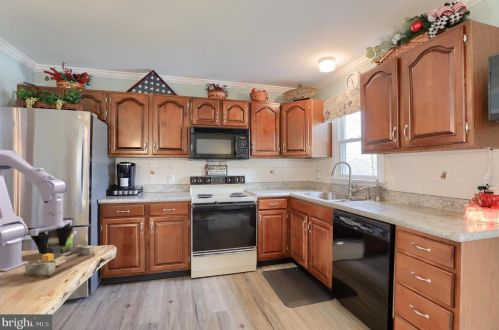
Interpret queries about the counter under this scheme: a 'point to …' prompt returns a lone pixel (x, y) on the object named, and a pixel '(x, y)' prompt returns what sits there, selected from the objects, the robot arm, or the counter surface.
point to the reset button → (47, 257)
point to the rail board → (49, 269)
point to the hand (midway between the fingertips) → (53, 249)
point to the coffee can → (55, 241)
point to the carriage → (56, 255)
